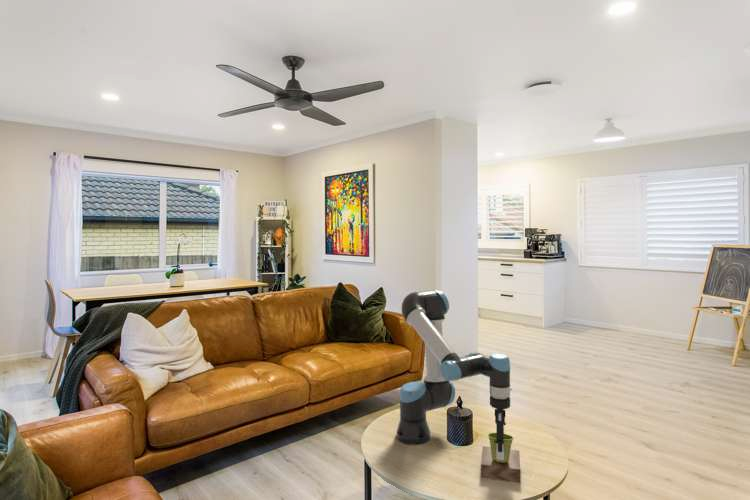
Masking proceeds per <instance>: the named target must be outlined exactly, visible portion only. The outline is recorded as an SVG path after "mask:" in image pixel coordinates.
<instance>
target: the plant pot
mask: <svg viewBox="0 0 750 500" xmlns="http://www.w3.org/2000/svg"><path fill="white" fill-rule="evenodd" d="M487 436H488V439H489V447H491V454H492V459H493V460H495V461H497V462H502V463H505V462H509V456H510V450H512V449H511V447H512V444H513V440H515V439H514V436H512V435H510V434H507V433H504V434H503V441H504V460H497V459H496V443H494V440H496V432H489V433H488V434H487Z"/></svg>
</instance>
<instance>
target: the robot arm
mask: <svg viewBox="0 0 750 500" xmlns="http://www.w3.org/2000/svg"><path fill="white" fill-rule="evenodd" d="M400 308H401V314H402V317H403V319H404V321H405V322H406V323H407V325H409V326H412V327H413V329H414V330H415V331H416V334H418V336H419V337H420V338H421V340H422V341H423V342H424V351H425V352H424V353H425V366H426V367H425V368H426V370H425V371H426V374H425V376H424V377H423V382H421V381H410V382H407V383H405V384H403V385H402V386H401V387H400V390H399V413H400V414H399V422H398V426H397V429H396V439H398V441H400V442H401V443H404V444H406V445H422V444H425V443H426V442H428V441H430V440H431V429H430V427H429V424H428V422H427V412H429V411H433V410H437V409H441V408H445V407H448V406H450V405H451V404H452V403H453V402H454V401H455V398H456V387H455V386H454V383H453V381H459V380H462V379H465V378H470V377H474V376H479V375H482V376H485V377H487V378H489V405H490V406H491V408H493V409H494V420H495V421H494V423H495V425H496V427H495V428H496V432H495V433H496V440H494V443H496V459H497V460H504V441H503V434H505V426H506V423H507V422H506V420H505V419H506V410H508V409H509V408H510V407H511V397H510V396H511V391H513V388H512V387H511V362H510V357H509V356H508V355H506V354H504V353H503V354H501V353H494V354H490V356H488V355H484V354H482V353H480V352H475V351H473V352H469V354H468V355H466V356H465V357H460V356H459V355H458V353H456V352H455V350H454V349H453V348H452V346H451V345H450V344H449V342H448V341H447V340H446V339H445V337H443V324H442V323H443V321H444V320H445V319H446V317H445V314H446V315H447V313H448V311H449V309H450V302H449V299H448V297H447V295H445V293H444V292H443V291H442V290H441V291H440V290H437V289H436V290H434V289H432V290H424V291H414V292H411V293H409V294H407V295H406V296H405V297H404V298H403V301H402V303H401V307H400Z"/></svg>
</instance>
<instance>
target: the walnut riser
mask: <svg viewBox="0 0 750 500" xmlns="http://www.w3.org/2000/svg"><path fill="white" fill-rule="evenodd" d="M520 458H521V457H520V450H517V449H510V456H509V462H505V463H502V462H497V461H495V460H493V459H492V454H491V446H485V445H484V446H482V452H481V461H480V477H481V478H483V479H489V480H491V479H492V480H498V481H504V482H505V481H506V482H511V483H516V484H517V483H518V484H521V483H522V482H521V478H522V477H521V476H522V475H521V459H520Z"/></svg>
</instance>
